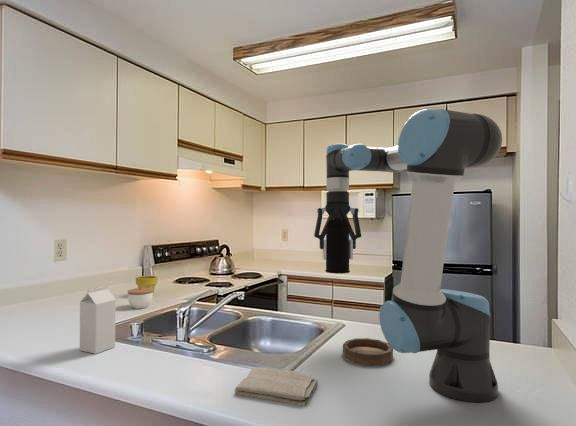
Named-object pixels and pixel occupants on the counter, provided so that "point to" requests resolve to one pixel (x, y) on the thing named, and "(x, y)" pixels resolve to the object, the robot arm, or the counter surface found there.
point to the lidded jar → (140, 297)
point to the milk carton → (97, 321)
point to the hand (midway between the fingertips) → (337, 258)
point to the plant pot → (147, 282)
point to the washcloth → (278, 385)
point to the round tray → (367, 351)
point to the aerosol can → (337, 247)
